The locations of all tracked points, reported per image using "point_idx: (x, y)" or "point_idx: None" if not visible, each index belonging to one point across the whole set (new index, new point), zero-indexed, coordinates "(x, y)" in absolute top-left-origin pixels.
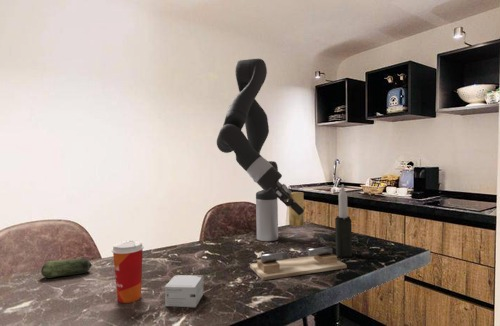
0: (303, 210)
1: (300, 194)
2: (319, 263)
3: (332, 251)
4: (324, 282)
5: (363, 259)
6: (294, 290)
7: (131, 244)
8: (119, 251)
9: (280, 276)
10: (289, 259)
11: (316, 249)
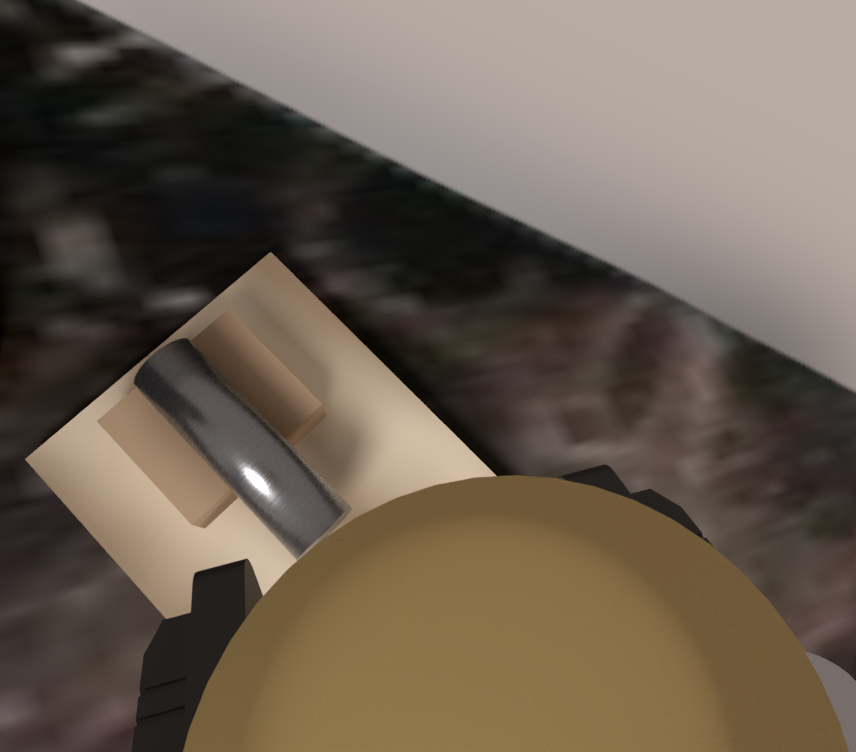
0: (609, 470)
1: (686, 535)
2: (317, 450)
3: (191, 342)
4: (615, 347)
5: (21, 178)
6: (833, 489)
7: None
8: None
9: None
10: None
11: (283, 462)
